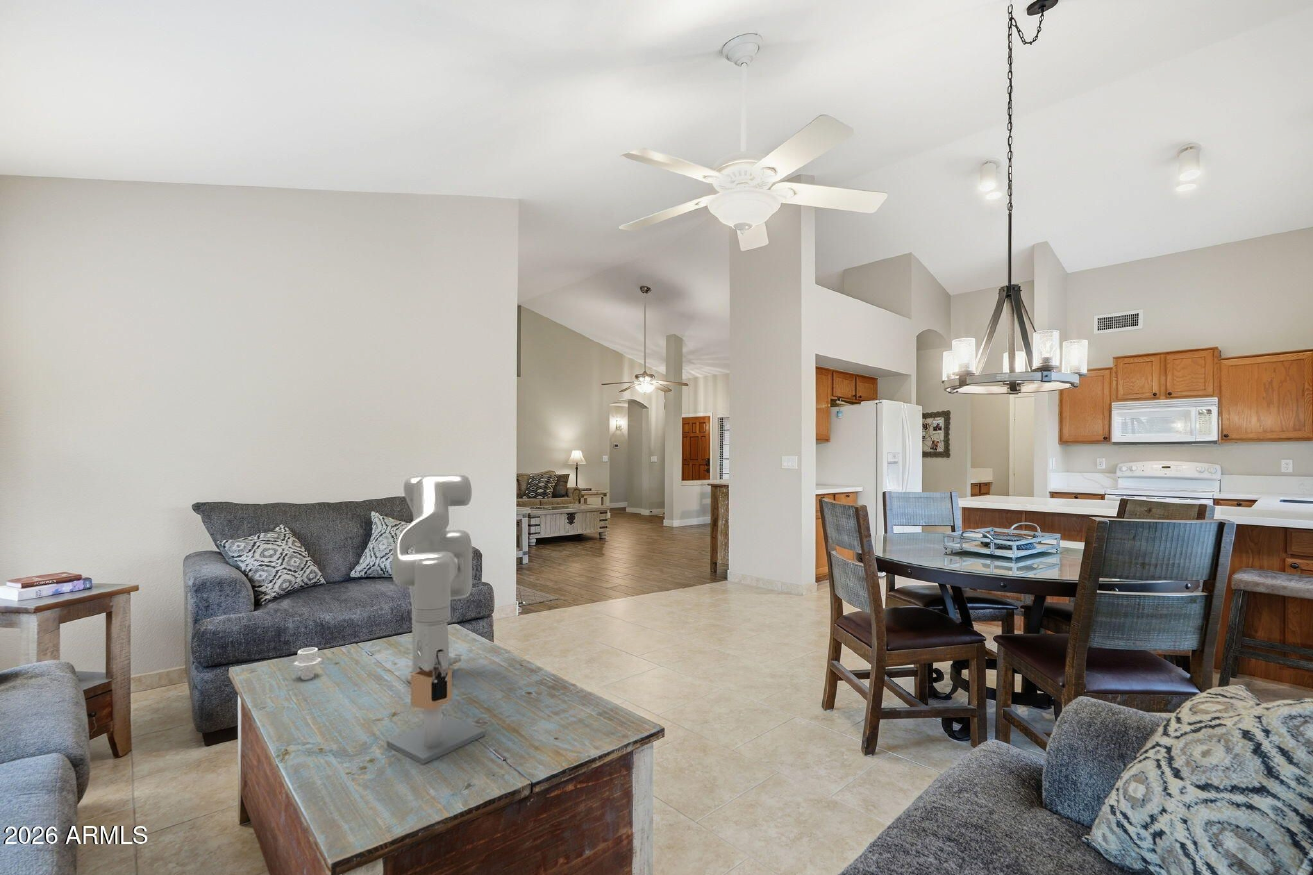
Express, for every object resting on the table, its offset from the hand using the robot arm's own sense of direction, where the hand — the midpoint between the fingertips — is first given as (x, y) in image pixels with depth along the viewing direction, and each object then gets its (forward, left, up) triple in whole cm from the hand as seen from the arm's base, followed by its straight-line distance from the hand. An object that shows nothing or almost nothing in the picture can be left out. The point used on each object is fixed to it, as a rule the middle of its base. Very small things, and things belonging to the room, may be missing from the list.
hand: (432, 692), depth 135 cm
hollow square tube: (0, 0, -2) cm, 2 cm away
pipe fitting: (-4, -68, -13) cm, 69 cm away
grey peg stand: (-3, -3, -13) cm, 13 cm away
